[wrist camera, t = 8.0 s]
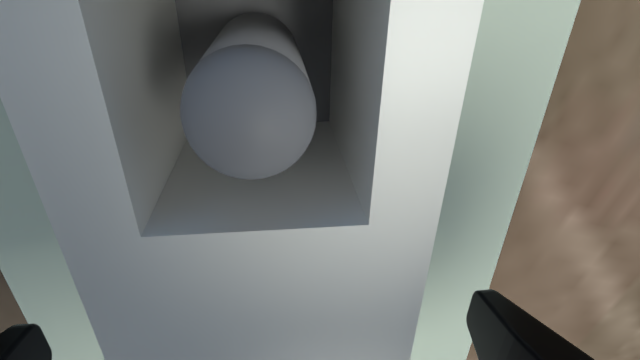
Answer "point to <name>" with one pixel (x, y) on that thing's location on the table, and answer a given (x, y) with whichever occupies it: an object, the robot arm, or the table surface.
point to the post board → (296, 134)
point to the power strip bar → (239, 182)
